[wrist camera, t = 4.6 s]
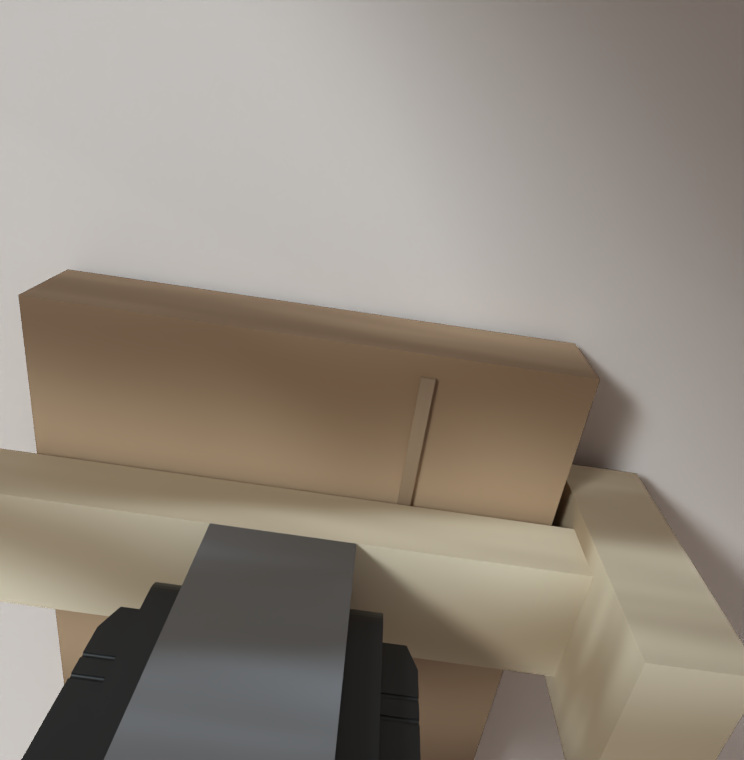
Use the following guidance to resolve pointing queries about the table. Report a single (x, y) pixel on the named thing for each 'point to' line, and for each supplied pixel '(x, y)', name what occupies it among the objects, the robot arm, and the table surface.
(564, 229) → the table surface
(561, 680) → the cream flanged bar
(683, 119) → the table surface
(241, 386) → the board
